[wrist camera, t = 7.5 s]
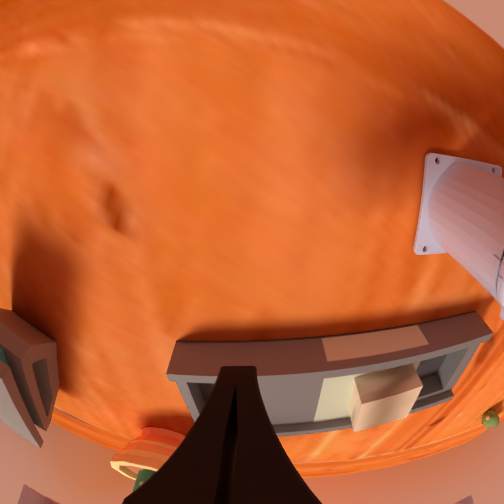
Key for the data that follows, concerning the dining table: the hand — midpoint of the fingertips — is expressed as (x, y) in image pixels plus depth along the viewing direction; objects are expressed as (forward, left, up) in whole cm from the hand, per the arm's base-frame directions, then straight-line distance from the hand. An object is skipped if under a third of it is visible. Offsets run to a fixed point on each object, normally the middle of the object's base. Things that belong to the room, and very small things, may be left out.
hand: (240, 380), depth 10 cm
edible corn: (-62, +53, -11) cm, 82 cm away
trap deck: (-9, +14, -10) cm, 20 cm away
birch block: (-12, +14, -7) cm, 20 cm away
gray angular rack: (+30, +13, -11) cm, 34 cm away
